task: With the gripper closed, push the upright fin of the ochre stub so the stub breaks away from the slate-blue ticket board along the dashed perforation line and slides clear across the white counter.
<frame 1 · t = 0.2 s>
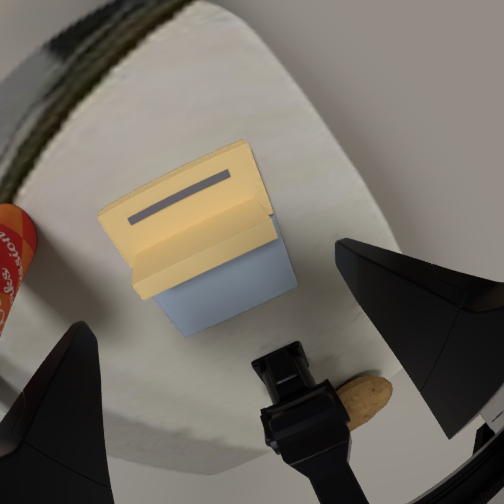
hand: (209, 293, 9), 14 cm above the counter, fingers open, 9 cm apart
stub: (187, 220, 20), point 3 cm above the counter, slide at 0.0 cm
coffee cup: (11, 233, 18), on the counter
potato: (344, 385, 46), on the counter
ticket: (221, 274, 26), on the counter
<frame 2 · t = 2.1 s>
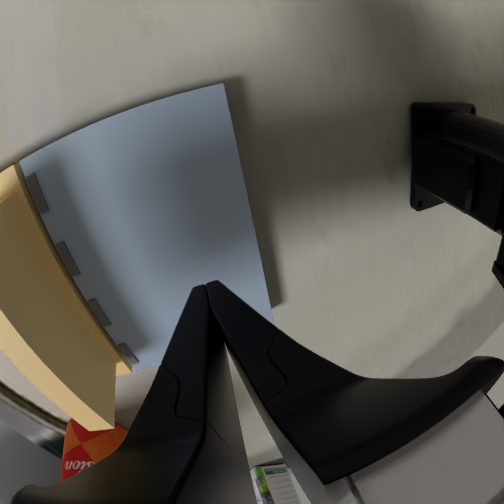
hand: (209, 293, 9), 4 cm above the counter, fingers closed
stub: (20, 324, 9), point 3 cm above the counter, slide at 0.0 cm
coffee cup: (97, 429, 19), on the counter
syrup box: (259, 470, 34), on the counter
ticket: (161, 244, 13), on the counter
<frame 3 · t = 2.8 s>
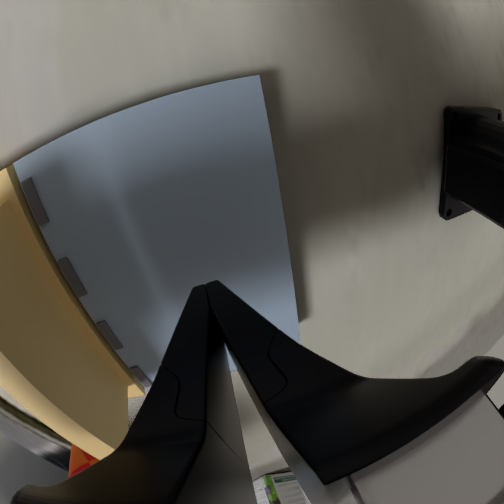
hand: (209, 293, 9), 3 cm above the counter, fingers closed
stub: (20, 349, 8), point 3 cm above the counter, slide at 0.0 cm
coffee cup: (104, 444, 18), on the counter
syrup box: (268, 477, 32), on the counter
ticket: (179, 258, 11), on the counter
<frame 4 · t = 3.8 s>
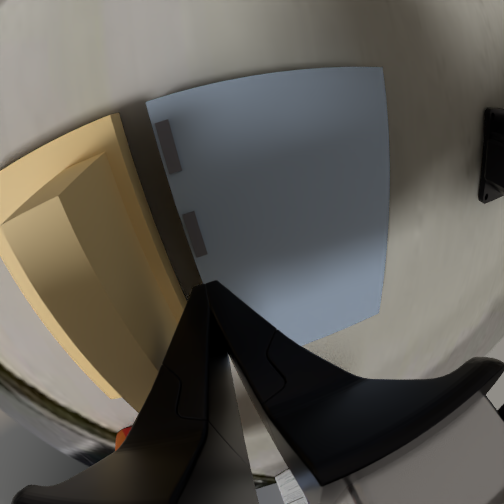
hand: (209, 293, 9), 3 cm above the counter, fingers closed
stub: (93, 327, 9), point 3 cm above the counter, slide at 0.8 cm, touching gripper
syrup box: (298, 467, 33), on the counter
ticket: (289, 223, 12), on the counter
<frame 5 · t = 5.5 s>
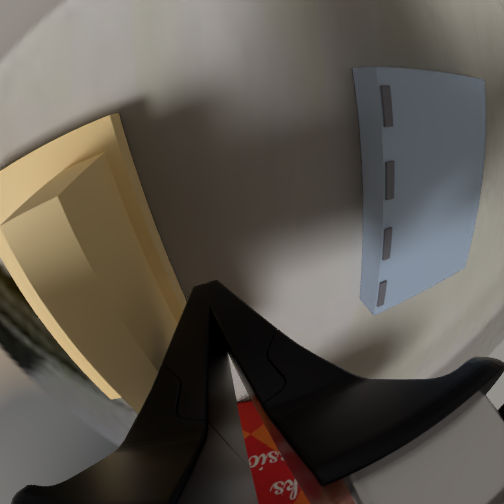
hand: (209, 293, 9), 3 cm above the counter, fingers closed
stub: (93, 328, 9), point 3 cm above the counter, slide at 8.4 cm, touching gripper
coffee cup: (241, 417, 20), on the counter
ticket: (422, 185, 13), on the counter
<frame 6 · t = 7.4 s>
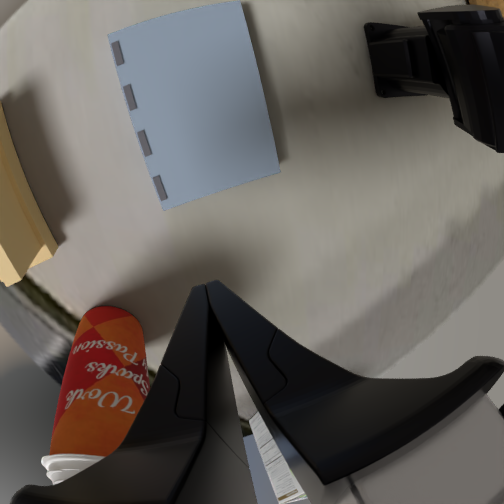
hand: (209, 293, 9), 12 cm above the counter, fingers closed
coffee cup: (110, 329, 23), on the counter
syrup box: (272, 410, 37), on the counter
potato: (475, 12, 16), on the counter
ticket: (195, 100, 16), on the counter
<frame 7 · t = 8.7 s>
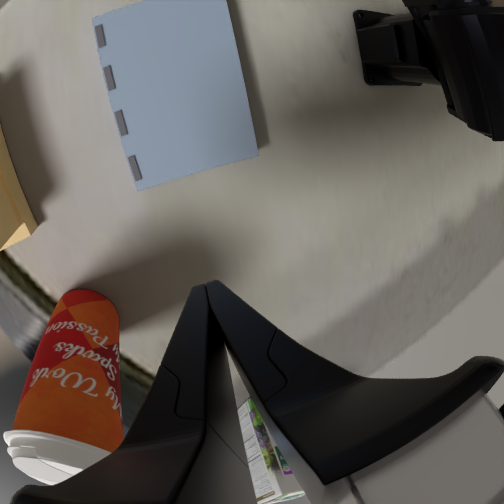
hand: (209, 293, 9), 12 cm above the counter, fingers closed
coffee cup: (87, 313, 22), on the counter
syrup box: (254, 408, 37), on the counter
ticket: (174, 82, 15), on the counter
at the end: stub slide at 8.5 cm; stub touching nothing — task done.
